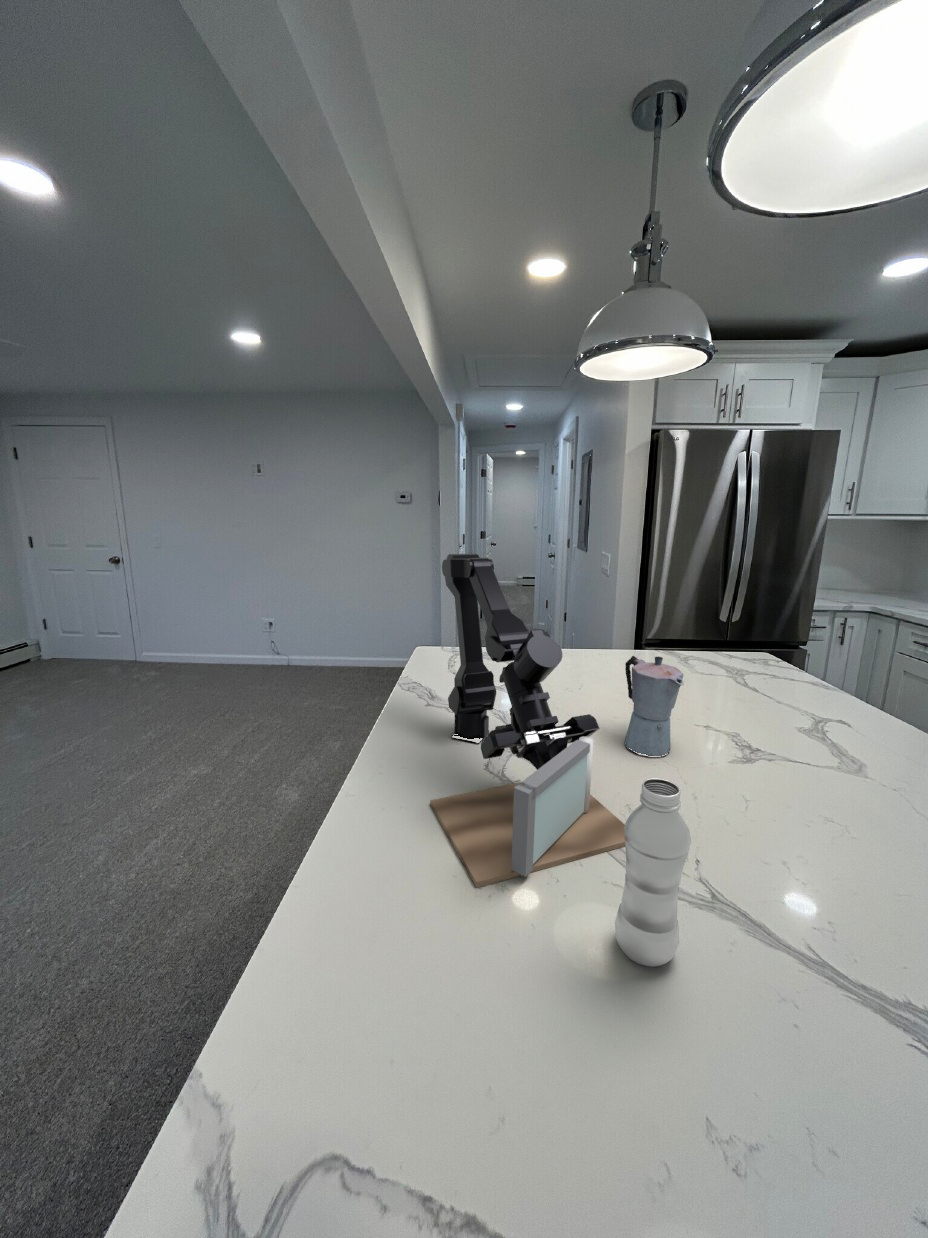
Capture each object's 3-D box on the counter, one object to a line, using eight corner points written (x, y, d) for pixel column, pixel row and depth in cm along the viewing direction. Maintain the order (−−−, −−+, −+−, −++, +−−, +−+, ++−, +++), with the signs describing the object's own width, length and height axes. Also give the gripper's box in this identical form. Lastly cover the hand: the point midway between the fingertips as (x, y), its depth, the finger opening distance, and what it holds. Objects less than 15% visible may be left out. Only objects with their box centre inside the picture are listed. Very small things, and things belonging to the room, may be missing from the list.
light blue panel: (578, 803, 82) (582, 735, 79) (591, 808, 81) (595, 739, 78) (511, 869, 67) (514, 787, 64) (525, 877, 65) (528, 793, 63)
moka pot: (658, 769, 95) (668, 668, 91) (601, 737, 108) (607, 648, 104) (692, 759, 99) (703, 662, 95) (633, 729, 113) (641, 643, 108)
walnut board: (430, 804, 83) (430, 800, 83) (565, 776, 92) (565, 772, 92) (476, 888, 65) (476, 882, 65) (639, 842, 74) (639, 837, 74)
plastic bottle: (604, 929, 59) (616, 772, 54) (660, 925, 59) (676, 770, 55) (626, 979, 52) (642, 806, 48) (688, 974, 53) (710, 803, 49)
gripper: (555, 707, 93) (585, 792, 85) (460, 721, 86) (485, 815, 79) (582, 680, 84) (619, 773, 76) (480, 694, 77) (509, 797, 70)
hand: (558, 790), depth 75 cm, fingers closed
